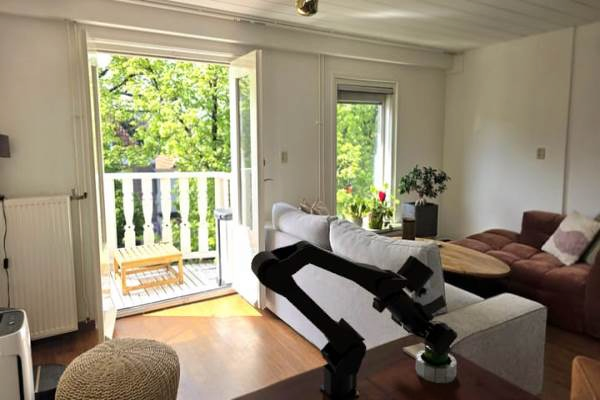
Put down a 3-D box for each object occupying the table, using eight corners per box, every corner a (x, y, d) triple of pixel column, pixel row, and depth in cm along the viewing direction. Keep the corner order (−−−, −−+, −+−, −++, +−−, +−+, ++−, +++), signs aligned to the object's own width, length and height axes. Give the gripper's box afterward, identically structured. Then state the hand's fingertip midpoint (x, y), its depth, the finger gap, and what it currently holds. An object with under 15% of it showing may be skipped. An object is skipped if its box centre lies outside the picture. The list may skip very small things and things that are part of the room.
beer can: (451, 373, 100) (454, 325, 98) (439, 381, 96) (441, 332, 95) (432, 363, 104) (434, 318, 102) (419, 371, 100) (421, 324, 99)
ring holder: (434, 386, 94) (435, 372, 94) (408, 367, 102) (408, 354, 102) (463, 377, 98) (464, 363, 98) (436, 359, 106) (436, 346, 106)
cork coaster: (419, 362, 105) (419, 359, 105) (402, 350, 111) (403, 347, 110) (439, 356, 107) (439, 353, 107) (422, 345, 113) (422, 342, 113)
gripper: (451, 294, 87) (491, 336, 92) (403, 268, 105) (438, 305, 109) (418, 335, 86) (459, 375, 90) (374, 302, 103) (411, 338, 108)
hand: (441, 345), depth 100 cm, fingers closed on beer can, 5 cm apart
